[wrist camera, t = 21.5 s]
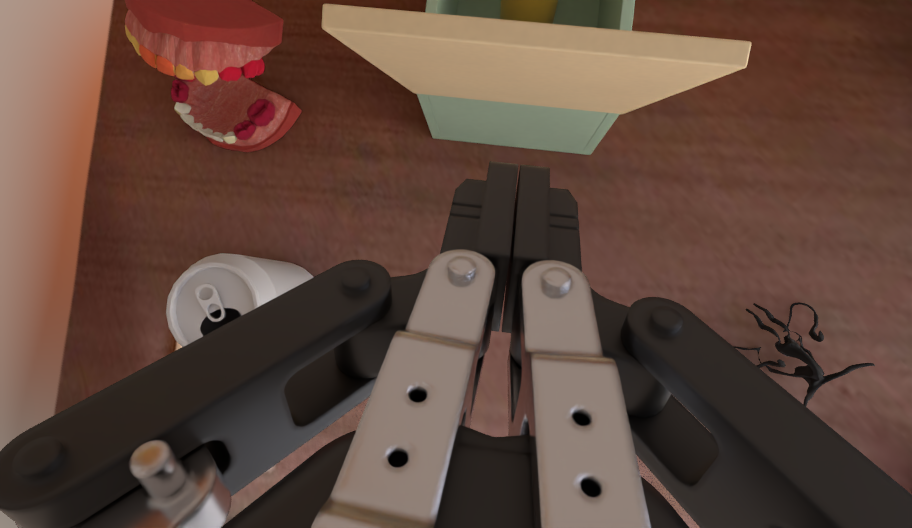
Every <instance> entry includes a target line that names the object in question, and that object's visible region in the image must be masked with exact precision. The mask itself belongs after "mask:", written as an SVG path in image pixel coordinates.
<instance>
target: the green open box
mask: <svg viewBox="0 0 912 528" xmlns="http://www.w3.org/2000/svg"><path fill="white" fill-rule="evenodd" d="M634 5H635V0H558V3H557V8H556V12H555V16H554V20H553V24H560V25H572V26H583V27H594V28H605V29H617V30H628V31H632V23H633V14H634ZM500 6H501V0H427V2H426V10H425V13H437V14H448V15H459V16H470V17H482V18H493V19H500ZM417 96H418V99H419V102H420V104H421V107H422V110H423V113H424V115H425V118H426V121H427V124H428V126H429V129H430V132H431V135H432V138H435V139H445V140H454V141H464V142H473V143H483V144H492V145H501V146H511V147H520V148H530V149H539V150H549V151H558V152H567V153H577V154H586V155H590V154H591V153H592V152H593V150H594V149H595V148H596V146H597V145H598V143H599V142H600V141H601V139H602V138H603V137H604V135H605V134H606V132H607V131H608V130H609V128H610V127H611V126H612V124H613V123H614V121H615V120H616V119H617V117H618V116H619V114H615V113H605V112H595V111H585V110H575V109H565V108H555V107H545V106H535V105H525V104H515V103H505V102H495V101H485V100H475V99H465V98H456V97H446V96H436V95H426V94H417Z"/></svg>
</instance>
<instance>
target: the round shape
mask: <svg viewBox="0 0 912 528" xmlns="http://www.w3.org/2000/svg"><path fill="white" fill-rule="evenodd" d="M557 3H558V0H501V6H500V19H504V20H515V21H527V22H538V23H549V24H553V20H554V16H555V12H556V8H557Z"/></svg>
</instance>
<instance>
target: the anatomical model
mask: <svg viewBox="0 0 912 528" xmlns="http://www.w3.org/2000/svg"><path fill="white" fill-rule="evenodd" d="M125 2H126V6H127V9H129V10H128V12H127V15H126V19H125V24H126V25H125V30H126V35H127V37H128V39H129V41H130V42H132V44H133V46H134V48H135V50H136V52H137V53H138V54H139V56H142V58H143V59H144V60H145V61H146V62H147V63H148V64H149V65H150V66H152V67H154V68H157V69H158V71H160V72H162V73H164V74H167V75H171V76H174V77H175V78H176V79H178V80H173V83H172V88H171V97H172V100H173V101H174V102H176V104H175V106H174V109H175V111H176V112H177V113H178V114H179V115H180V116H181V118H182V119H183V121H184V122H186V123H187V124H189V125H190V126H191V127H192V128H193V129H194V130H196V131H198V132H200V133H202V134H203V135H204V136H206V138H207V139H208V140H209V141H210V142H211V143H213V144H215V145H216V146H218V147H221V148H224V149H228V150H233V151H242V152H252V151H257V150H261V149H263V148H265V147H268V146H269V145H271V144H273V143H274V142H276V141H277V140H279V139H280V138H282V137H283V136H284V134H285V133H286V132H287V131H288V130H289V129H290V128H291V127H292V126H293V124H294V123H295V121H296V120H297V118H298V117H299V115H300V114H301V112H302V110H301V109H300V108H299V107H298V106H297V105H296V104H295V103H293V102H291V101H290V100H288V99H286V98H285V97H283V96H281V95H279V94H277V93H275V92H272V91H270V90H268V89H266V88H264V87H262V86H261V85H259V84H257V83H255V82H254V81H252V80H250V79H248V78H254V77H255V75H257V76H259V75H261V74H262V73H263V72H264V67H265V65H264V62H263V59H262V57H263V56H265V55H266V54H268V53H269V52H270V51H271V50H272V49H273V48H274V47H275V46H277V45H279V44H281V43H282V31H283V19H282V18H280V17H278V16H277V15H275V14H273V13H271V12H270V11H268V10H266V9H265V8H263V7H261V6H259V5H258V4H256V3H254V2H252V1H251V0H125ZM242 73H243V74H244V76H243V75H241V74H242Z"/></svg>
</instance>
